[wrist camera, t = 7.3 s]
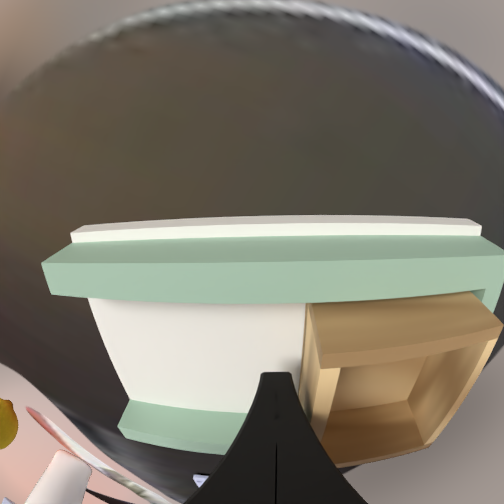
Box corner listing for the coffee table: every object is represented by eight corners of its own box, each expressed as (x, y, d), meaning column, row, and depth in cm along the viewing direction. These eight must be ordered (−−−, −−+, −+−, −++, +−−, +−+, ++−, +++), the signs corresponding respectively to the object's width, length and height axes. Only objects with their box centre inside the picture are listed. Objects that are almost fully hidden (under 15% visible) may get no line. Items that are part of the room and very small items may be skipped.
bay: (409, 399, 13) (424, 437, 10) (144, 403, 14) (128, 441, 11) (468, 219, 9) (513, 243, 6) (84, 225, 10) (38, 252, 7)
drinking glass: (61, 456, 23) (28, 528, 9) (47, 437, 21) (6, 518, 7) (102, 477, 23) (73, 555, 10) (93, 462, 21) (57, 552, 7)
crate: (408, 395, 11) (428, 447, 8) (296, 409, 12) (298, 471, 8) (453, 275, 9) (503, 324, 5) (306, 282, 9) (322, 354, 6)
